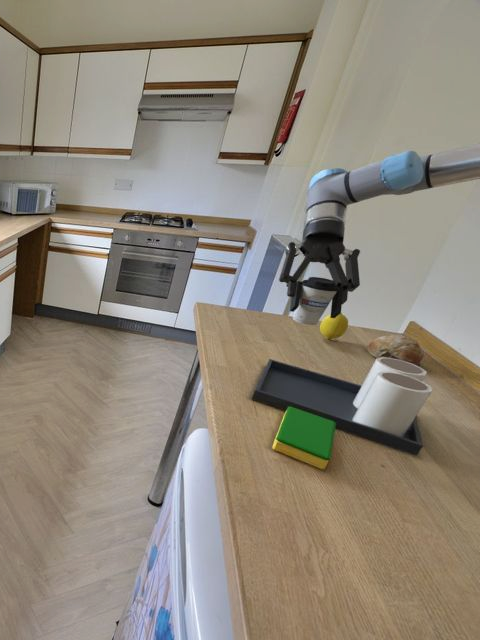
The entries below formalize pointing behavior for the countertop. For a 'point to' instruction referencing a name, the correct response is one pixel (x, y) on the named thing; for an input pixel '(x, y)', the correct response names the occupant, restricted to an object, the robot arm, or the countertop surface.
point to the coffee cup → (314, 299)
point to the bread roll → (397, 348)
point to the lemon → (334, 326)
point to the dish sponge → (305, 437)
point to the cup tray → (326, 402)
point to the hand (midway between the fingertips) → (314, 311)
